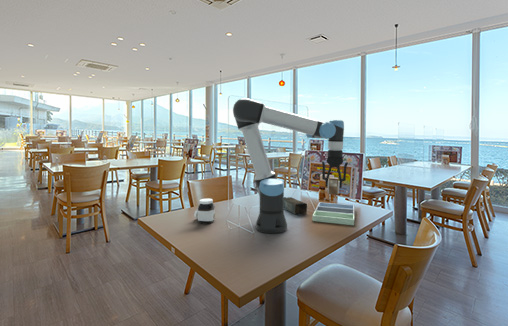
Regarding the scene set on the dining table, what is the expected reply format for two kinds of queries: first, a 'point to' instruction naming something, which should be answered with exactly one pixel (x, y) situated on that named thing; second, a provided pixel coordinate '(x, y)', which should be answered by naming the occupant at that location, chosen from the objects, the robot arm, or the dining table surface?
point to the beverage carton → (295, 206)
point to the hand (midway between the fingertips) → (333, 193)
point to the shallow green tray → (335, 210)
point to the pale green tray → (333, 217)
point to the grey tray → (336, 205)
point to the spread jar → (205, 211)
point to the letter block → (333, 185)
